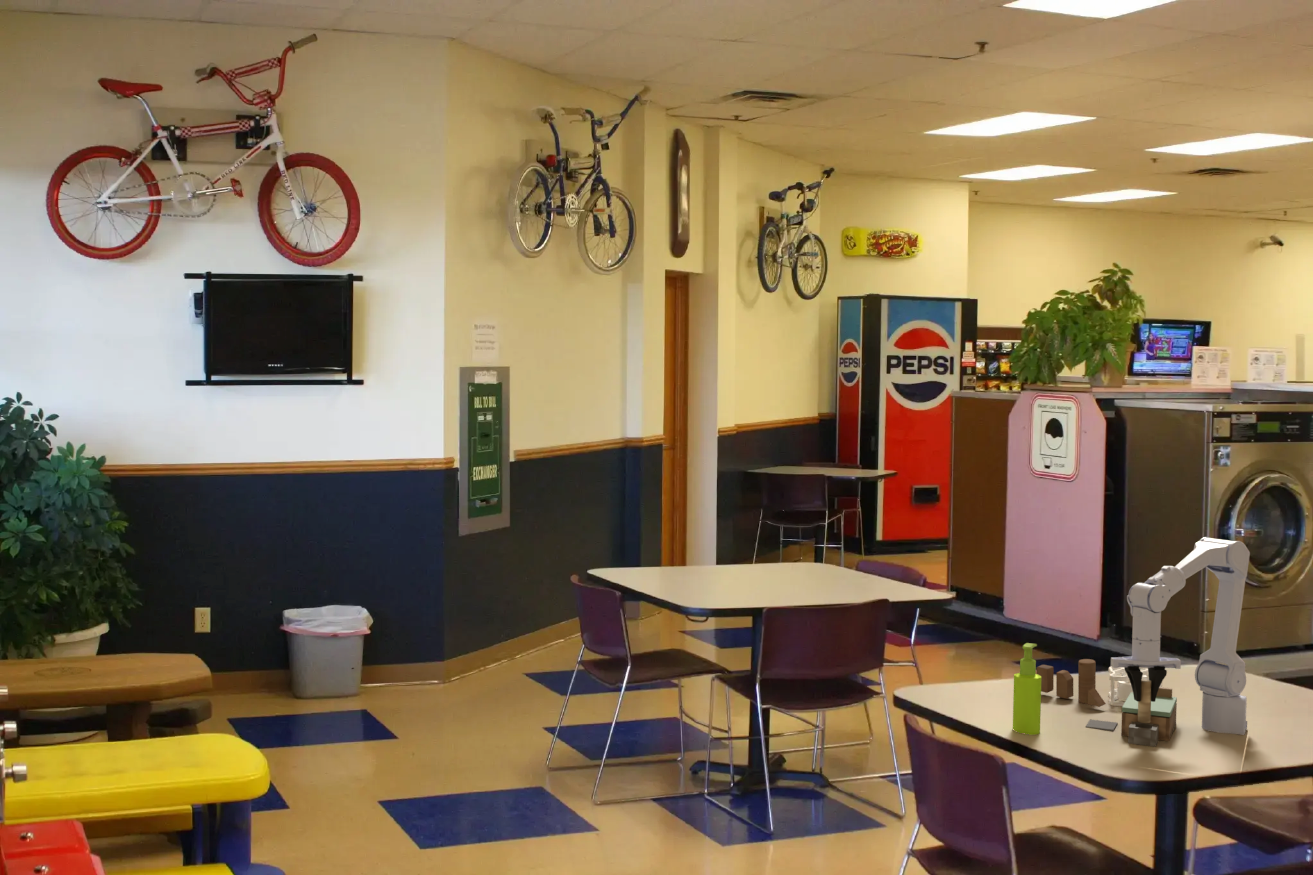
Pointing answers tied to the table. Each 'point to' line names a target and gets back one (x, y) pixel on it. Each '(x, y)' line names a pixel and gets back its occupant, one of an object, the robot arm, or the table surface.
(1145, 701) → the beige banded cylinder
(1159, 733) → the toolbox
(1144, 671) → the wheeled car silhouette
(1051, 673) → the wooden block set
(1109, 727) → the mat
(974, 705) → the table surface
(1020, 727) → the soap dispenser
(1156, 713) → the toolbox lid
